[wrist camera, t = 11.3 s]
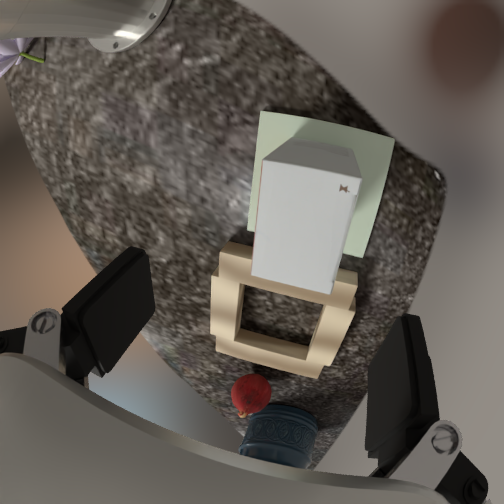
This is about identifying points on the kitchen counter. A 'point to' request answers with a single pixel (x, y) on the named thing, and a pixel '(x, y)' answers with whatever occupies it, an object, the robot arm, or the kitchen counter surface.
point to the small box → (304, 213)
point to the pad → (360, 141)
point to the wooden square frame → (269, 348)
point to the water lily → (14, 52)
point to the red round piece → (250, 394)
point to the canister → (281, 436)
